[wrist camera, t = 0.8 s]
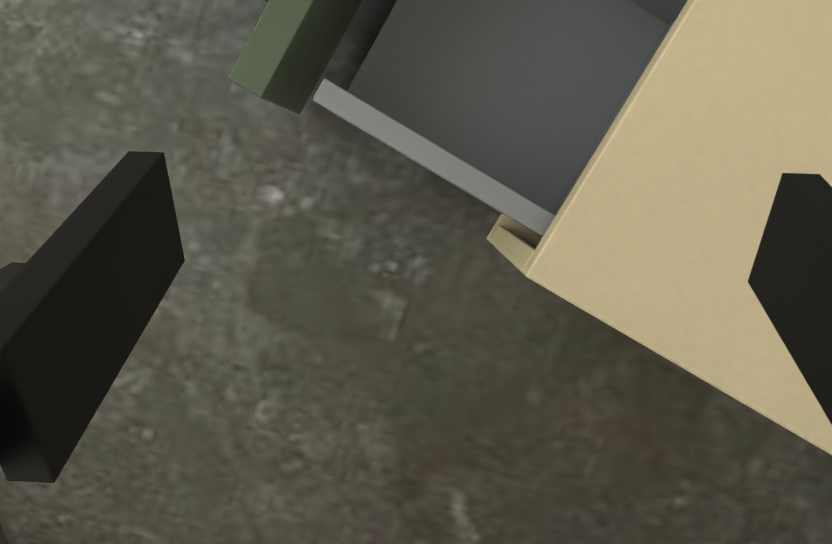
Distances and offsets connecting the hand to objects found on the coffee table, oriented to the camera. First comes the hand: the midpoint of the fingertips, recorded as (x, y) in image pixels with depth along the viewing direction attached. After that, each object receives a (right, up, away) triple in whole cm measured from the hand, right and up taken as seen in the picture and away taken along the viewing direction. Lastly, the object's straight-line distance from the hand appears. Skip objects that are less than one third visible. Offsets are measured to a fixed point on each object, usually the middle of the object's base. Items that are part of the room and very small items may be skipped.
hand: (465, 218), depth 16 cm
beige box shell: (+12, +3, +18) cm, 21 cm away
